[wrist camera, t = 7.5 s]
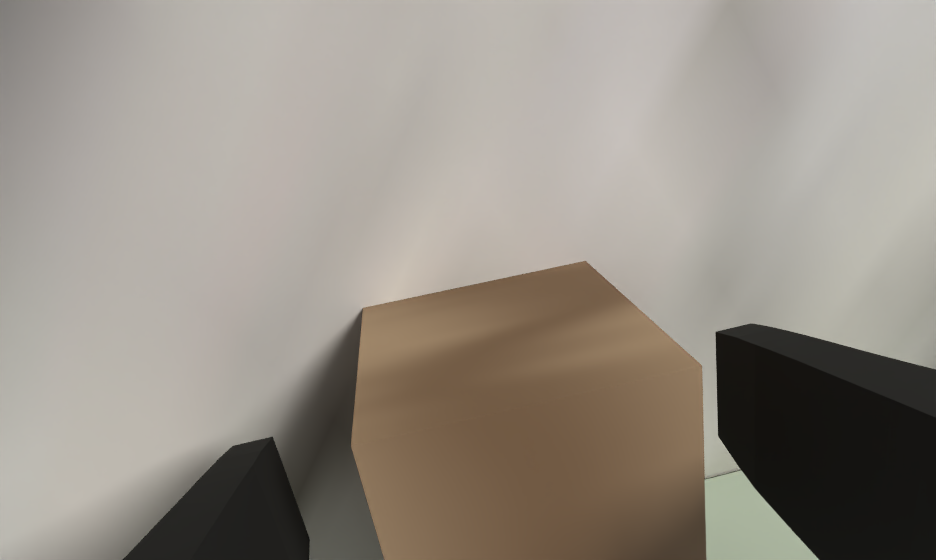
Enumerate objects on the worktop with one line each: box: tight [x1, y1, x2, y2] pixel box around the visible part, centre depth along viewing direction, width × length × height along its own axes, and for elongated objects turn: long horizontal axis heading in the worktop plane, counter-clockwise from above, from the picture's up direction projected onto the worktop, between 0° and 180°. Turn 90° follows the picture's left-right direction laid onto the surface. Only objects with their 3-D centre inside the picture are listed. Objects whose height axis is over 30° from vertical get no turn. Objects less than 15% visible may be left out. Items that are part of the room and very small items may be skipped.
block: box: [351, 261, 706, 560], centre depth 9 cm, size 4×4×4 cm
